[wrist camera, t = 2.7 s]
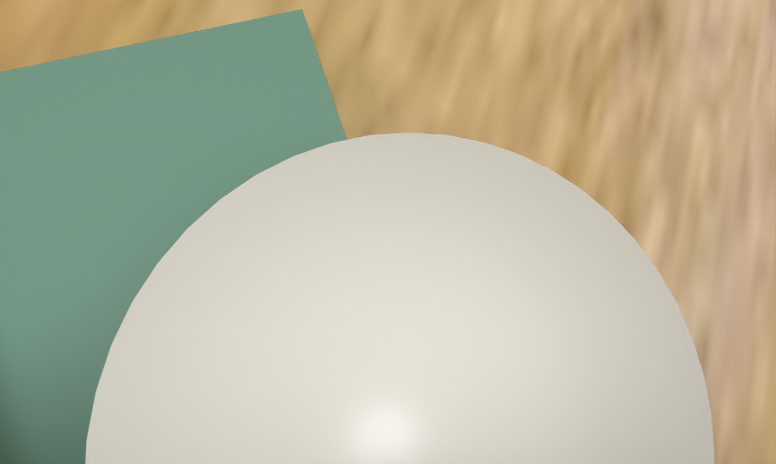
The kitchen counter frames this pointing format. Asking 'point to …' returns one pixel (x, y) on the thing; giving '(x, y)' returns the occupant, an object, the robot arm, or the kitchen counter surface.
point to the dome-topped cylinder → (403, 323)
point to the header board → (126, 194)
